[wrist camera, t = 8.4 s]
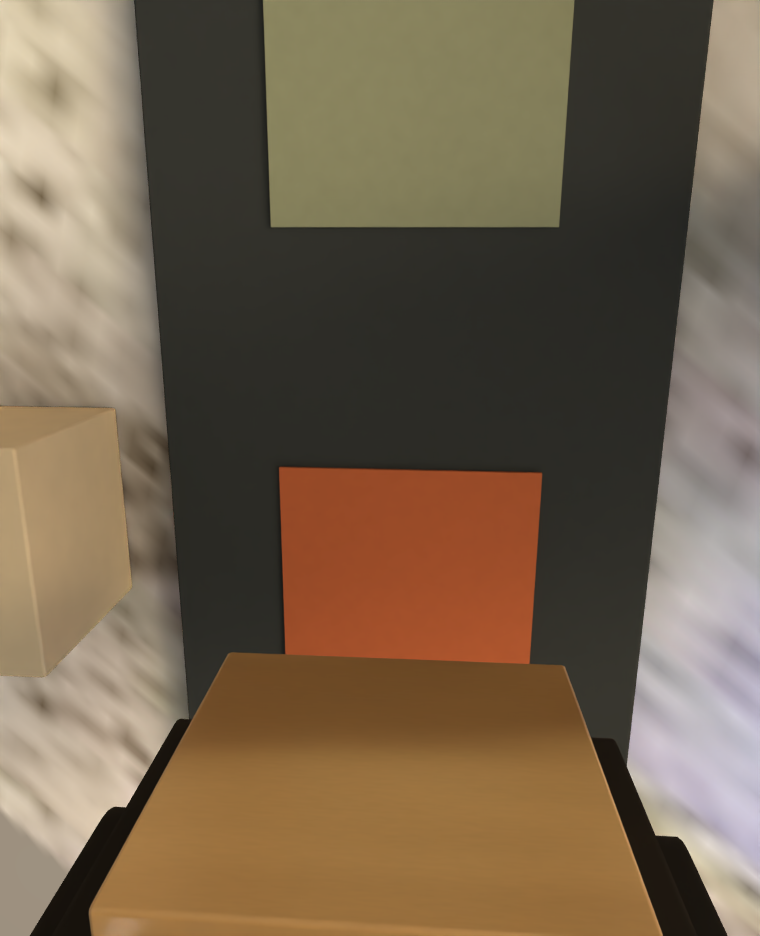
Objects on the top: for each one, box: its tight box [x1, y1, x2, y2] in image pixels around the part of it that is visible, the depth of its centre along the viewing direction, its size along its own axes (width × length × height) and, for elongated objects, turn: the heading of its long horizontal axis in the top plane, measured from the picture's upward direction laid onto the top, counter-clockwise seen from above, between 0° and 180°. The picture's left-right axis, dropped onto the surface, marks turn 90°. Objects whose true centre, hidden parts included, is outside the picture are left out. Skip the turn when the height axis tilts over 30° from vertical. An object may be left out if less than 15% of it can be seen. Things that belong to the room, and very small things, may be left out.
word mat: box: [134, 0, 713, 766], centre depth 16 cm, size 28×12×1 cm, turn 0°
